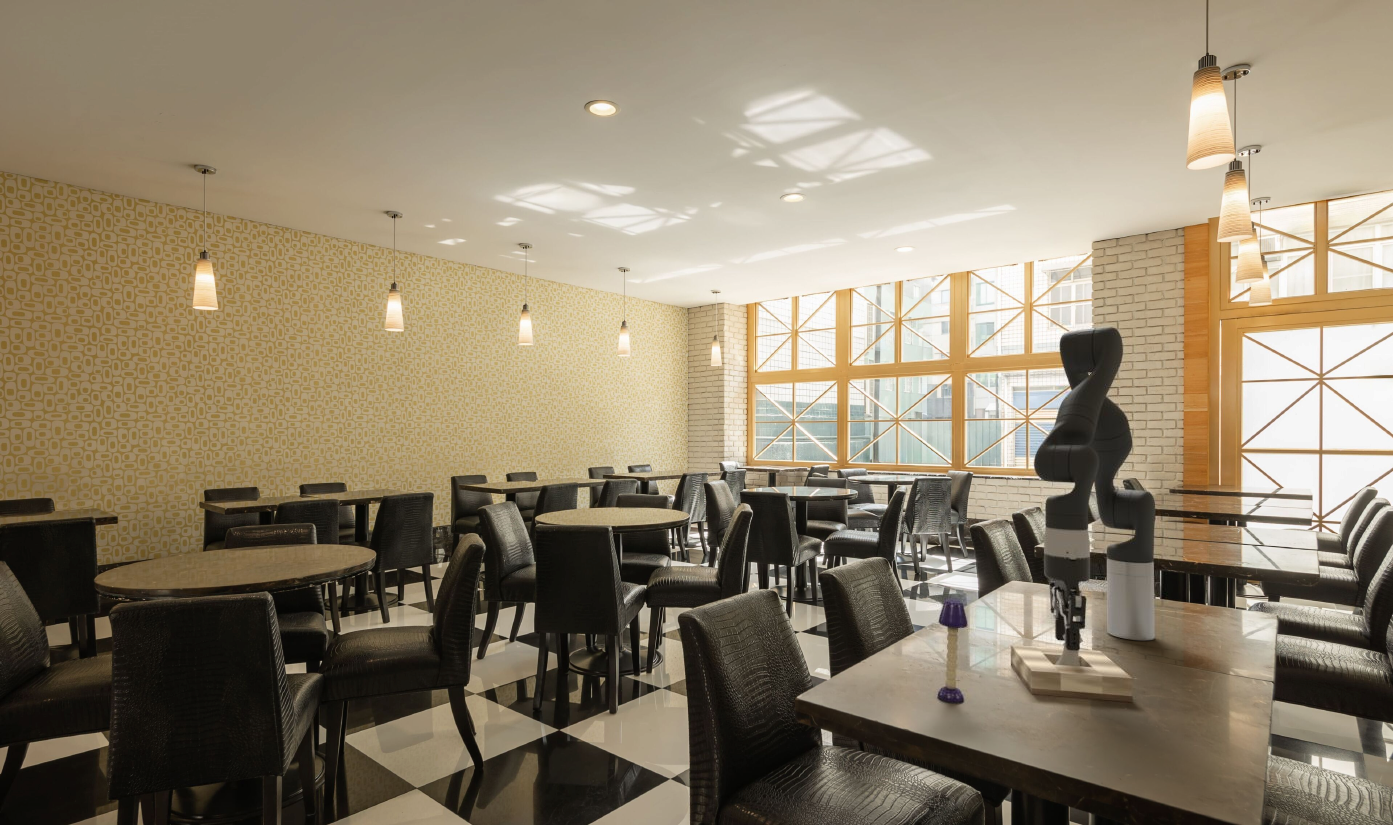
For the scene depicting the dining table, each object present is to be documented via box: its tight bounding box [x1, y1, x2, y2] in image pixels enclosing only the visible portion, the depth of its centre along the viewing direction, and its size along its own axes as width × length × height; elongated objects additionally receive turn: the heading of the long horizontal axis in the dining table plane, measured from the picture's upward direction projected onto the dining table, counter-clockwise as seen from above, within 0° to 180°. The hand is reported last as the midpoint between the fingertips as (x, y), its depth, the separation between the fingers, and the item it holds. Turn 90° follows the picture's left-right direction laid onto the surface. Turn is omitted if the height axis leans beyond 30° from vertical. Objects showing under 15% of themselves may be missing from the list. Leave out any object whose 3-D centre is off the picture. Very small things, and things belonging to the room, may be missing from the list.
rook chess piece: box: [1056, 633, 1083, 666], centre depth 130 cm, size 4×4×8 cm
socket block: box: [1010, 644, 1134, 703], centre depth 130 cm, size 16×16×4 cm
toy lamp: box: [937, 598, 968, 704], centre depth 121 cm, size 5×5×17 cm
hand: (1067, 644), depth 130 cm, fingers open, 5 cm apart
